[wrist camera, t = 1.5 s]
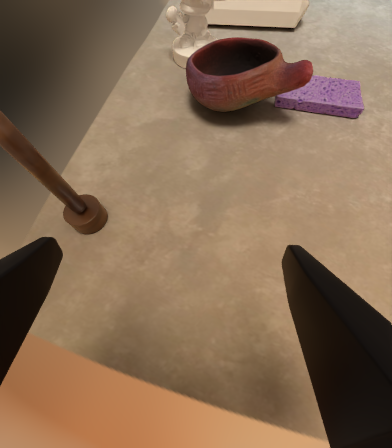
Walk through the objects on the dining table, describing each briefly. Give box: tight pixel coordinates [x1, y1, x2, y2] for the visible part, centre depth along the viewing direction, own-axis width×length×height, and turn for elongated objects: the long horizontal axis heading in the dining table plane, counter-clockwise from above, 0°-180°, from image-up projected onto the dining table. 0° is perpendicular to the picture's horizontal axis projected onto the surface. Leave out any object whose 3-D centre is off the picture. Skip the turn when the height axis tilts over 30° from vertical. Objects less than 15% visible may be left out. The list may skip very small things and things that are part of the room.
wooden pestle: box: [0, 111, 107, 234], centre depth 19 cm, size 4×4×17 cm
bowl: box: [186, 37, 313, 112], centre depth 32 cm, size 16×13×8 cm
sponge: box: [275, 75, 364, 118], centre depth 34 cm, size 7×13×2 cm, turn 75°
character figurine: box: [166, 0, 225, 68], centre depth 36 cm, size 9×10×12 cm
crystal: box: [205, 0, 309, 28], centre depth 45 cm, size 7×7×24 cm
